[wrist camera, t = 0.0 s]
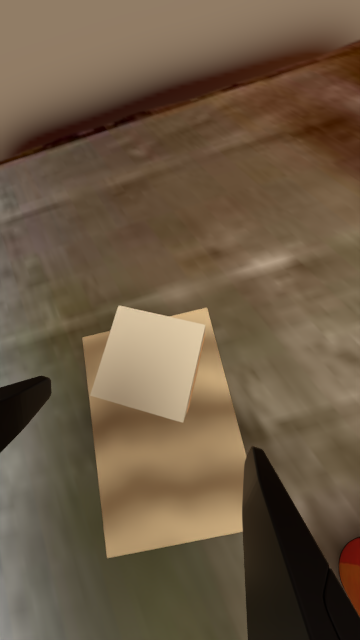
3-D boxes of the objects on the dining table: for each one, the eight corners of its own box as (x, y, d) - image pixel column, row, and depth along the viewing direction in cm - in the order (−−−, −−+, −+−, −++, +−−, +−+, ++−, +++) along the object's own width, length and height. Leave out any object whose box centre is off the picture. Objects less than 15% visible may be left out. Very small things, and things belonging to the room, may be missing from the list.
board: (258, 512, 20) (265, 527, 18) (115, 540, 21) (107, 558, 19) (206, 312, 25) (207, 307, 23) (91, 340, 26) (82, 337, 24)
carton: (191, 399, 21) (183, 424, 12) (138, 384, 22) (88, 396, 12) (204, 344, 22) (206, 324, 13) (152, 332, 23) (118, 304, 14)
